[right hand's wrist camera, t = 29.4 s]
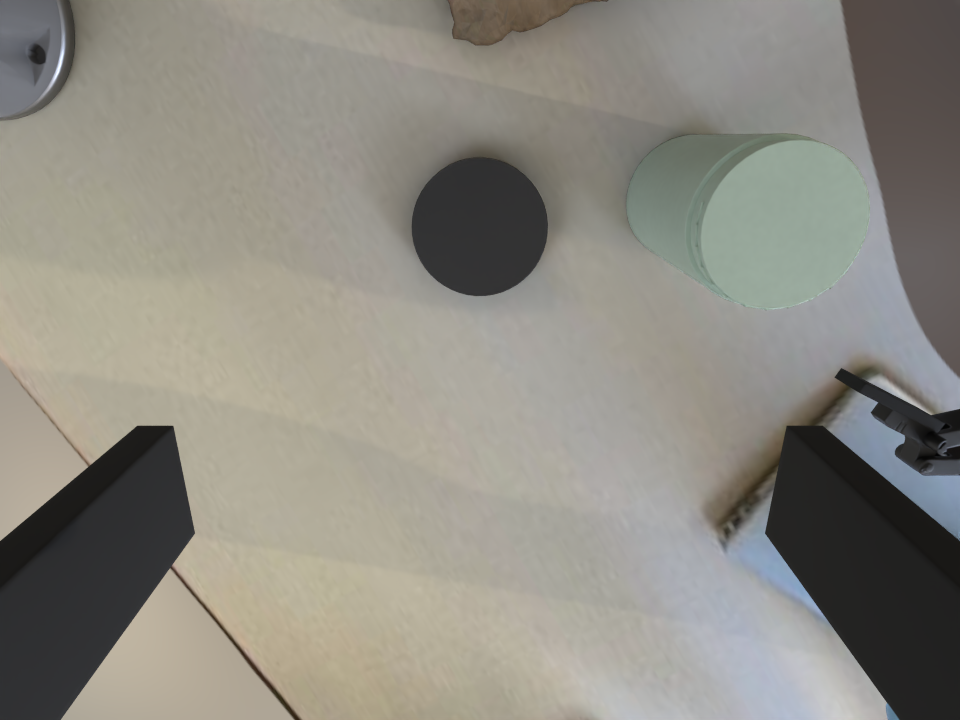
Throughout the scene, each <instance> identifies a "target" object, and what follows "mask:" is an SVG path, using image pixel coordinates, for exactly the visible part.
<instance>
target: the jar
mask: <svg viewBox="0 0 960 720" xmlns="http://www.w3.org/2000/svg"><path fill="white" fill-rule="evenodd" d="M626 210H627V217H628V221H629V224H630V227H631V229H632V231H633V233H634V235H635V236H636V238H637V239H638V240H639V241H640V243H641V244H642V245H643V246H644V247H646V248H647V249H648V250H650V251H651V252H653V253H654V254H656V255H657V256H659V257H660V258H662V259H663V260H665V261H666V262H668V263H669V264H671V265H672V266H674V267H675V268H677V269H678V270H680V271H681V272H683V273H684V274H686V275H687V276H689V277H690V278H692V279H693V280H695V281H696V282H698V283H699V284H701V285H703V286H704V287H706V288H707V289H709V290H710V291H712V292H713V293H715V294H716V295H718V296H720V297H722V298H723V299H726V300H728V301H731V302H734V303H738V304H741V305H743V306H745V307H750V308H757V309H764V310H772V309H781V308H790V307H793V306H795V305H798V304H801V303H804V302H806V301H811V300H812V299H814V298H815V297H817V296H818V295H820V294H821V293H823V292H825V291H826V290H828V289H831V288H832V287H833V286H834V285H835V284H836V283H837V282H838V281H839V280H840V279H841V277H842V276H843V275H844V274H845V273H846V272H847V270H848V268H849V267H850V266H851V264H852V263H853V261H854V260H855V258H856V256H857V255H858V253H859V251H860V249H861V247H862V244H863V242H864V239H865V236H866V233H867V229H868V224H869V217H870V203H869V195H868V191H867V186H866V184H865V181H864V179H863V177H862V175H861V173H860V171H859V170H858V168H857V167H856V166H855V164H854V163H853V162H852V161H851V160H850V159H849V158H848V157H847V156H846V155H845V154H844V153H842V152H841V151H839V150H837V149H836V148H834V147H832V146H830V145H827V144H825V143H821V142H819V141H816V140H814V139H812V138H809V137H805V136H801V135H796V134H720V135H686V136H680V137H677V138H674V139H671V140H669V141H667V142H664V143H663V144H661V145H659V146H658V147H656V148H655V149H654V150H653V151H651V152H650V153H649V154H648V155H647V156H646V157H645V158H644V159H643V161H642V162H641V163H640V164H639V166H638V167H637V169H636V171H635V172H634V174H633V177H632V179H631V181H630V184H629V188H628V192H627V198H626Z"/></svg>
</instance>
